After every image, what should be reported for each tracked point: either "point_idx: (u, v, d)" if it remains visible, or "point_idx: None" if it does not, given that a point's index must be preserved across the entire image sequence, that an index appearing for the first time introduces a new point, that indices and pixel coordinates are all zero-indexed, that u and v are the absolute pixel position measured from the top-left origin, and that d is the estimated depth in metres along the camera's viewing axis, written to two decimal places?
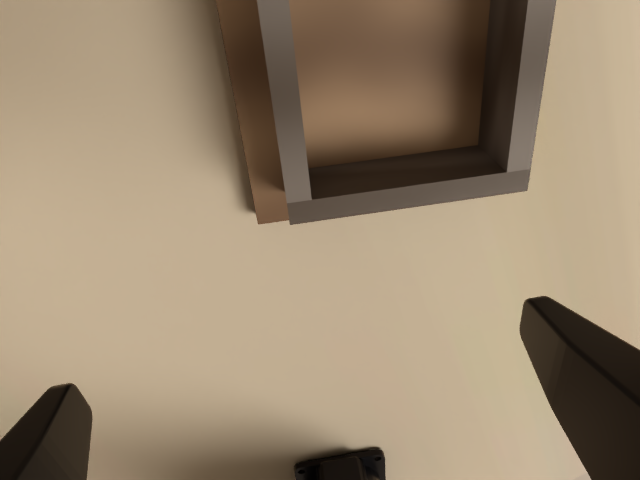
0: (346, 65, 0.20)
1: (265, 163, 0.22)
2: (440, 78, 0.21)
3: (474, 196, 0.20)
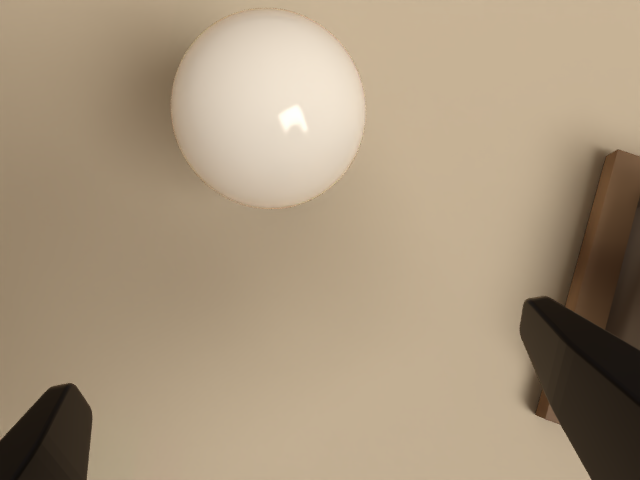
0: None
1: None
2: None
3: None
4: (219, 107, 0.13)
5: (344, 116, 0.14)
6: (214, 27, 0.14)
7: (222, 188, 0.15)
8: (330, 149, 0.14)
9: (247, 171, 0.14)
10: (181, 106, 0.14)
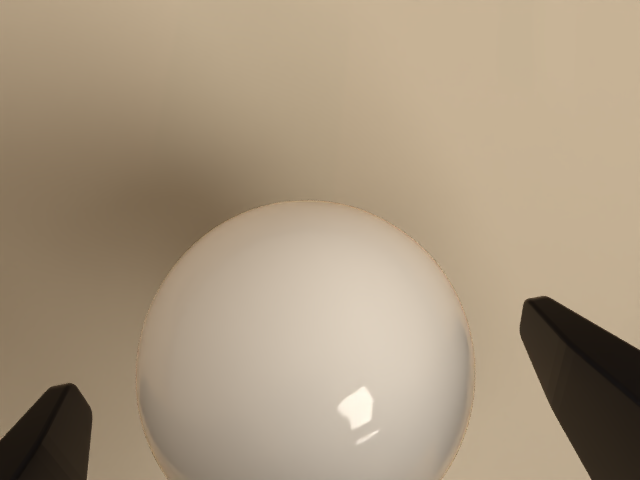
0: None
1: None
2: None
3: None
4: (221, 453, 0.07)
5: (454, 431, 0.08)
6: (212, 265, 0.08)
7: None
8: None
9: None
10: (150, 414, 0.08)
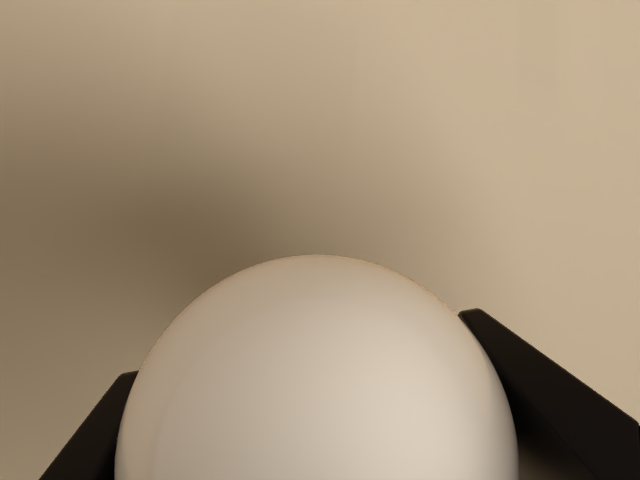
0: None
1: None
2: None
3: None
4: None
5: None
6: (205, 352, 0.06)
7: None
8: None
9: None
10: None
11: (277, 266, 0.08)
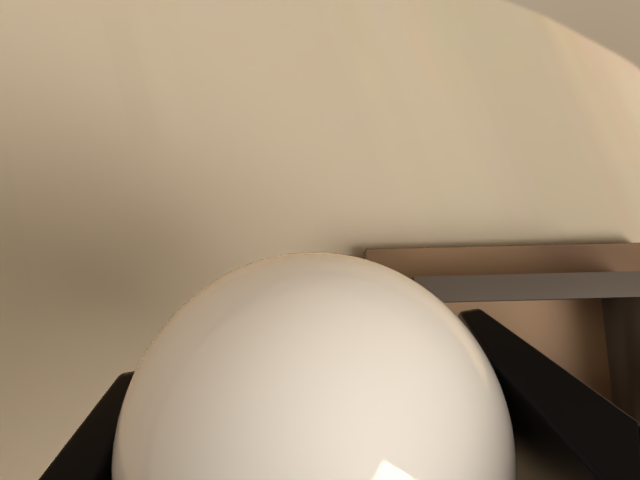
0: None
1: None
2: None
3: None
4: None
5: None
6: (202, 349, 0.06)
7: None
8: None
9: None
10: None
11: (274, 264, 0.08)
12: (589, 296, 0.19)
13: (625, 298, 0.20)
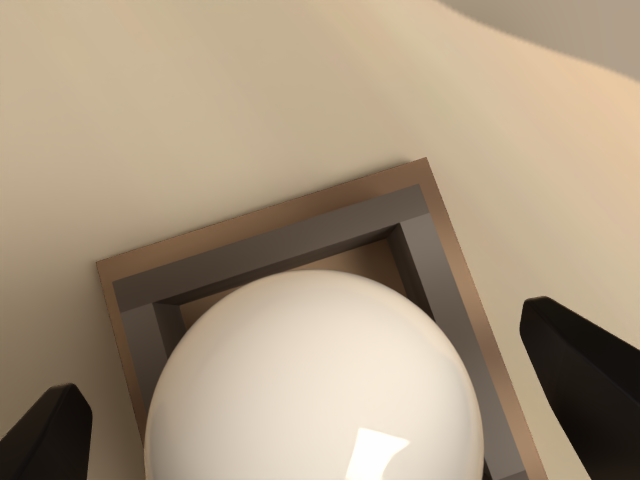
0: None
1: None
2: None
3: None
4: None
5: None
6: (217, 351, 0.08)
7: None
8: None
9: None
10: None
11: (278, 279, 0.09)
12: (333, 242, 0.15)
13: (393, 230, 0.17)
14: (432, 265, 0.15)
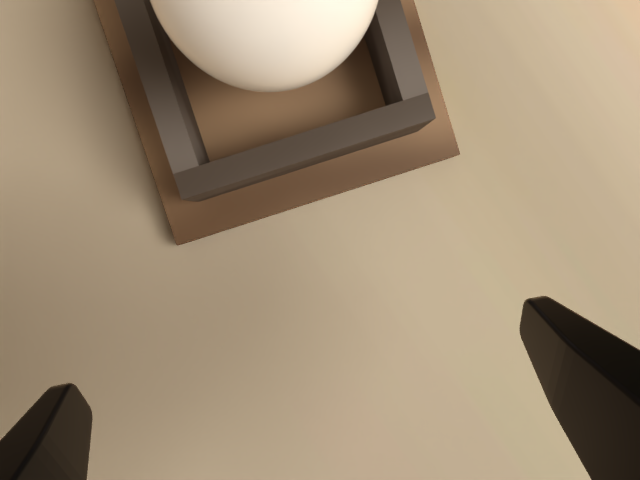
0: None
1: (172, 172, 0.21)
2: None
3: (377, 134, 0.18)
4: None
5: None
6: None
7: (209, 64, 0.13)
8: (340, 18, 0.12)
9: (238, 44, 0.12)
10: None
11: None
12: None
13: None
14: None
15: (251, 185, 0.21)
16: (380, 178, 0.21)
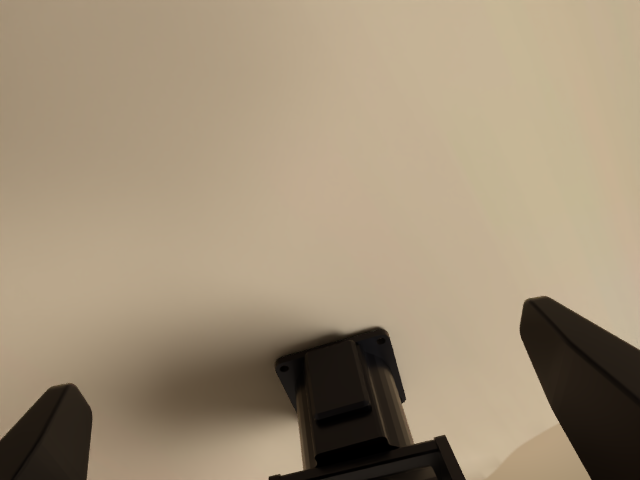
0: None
1: None
2: None
3: None
4: None
5: None
6: None
7: None
8: None
9: None
10: None
11: None
12: None
13: None
14: None
15: None
16: None
